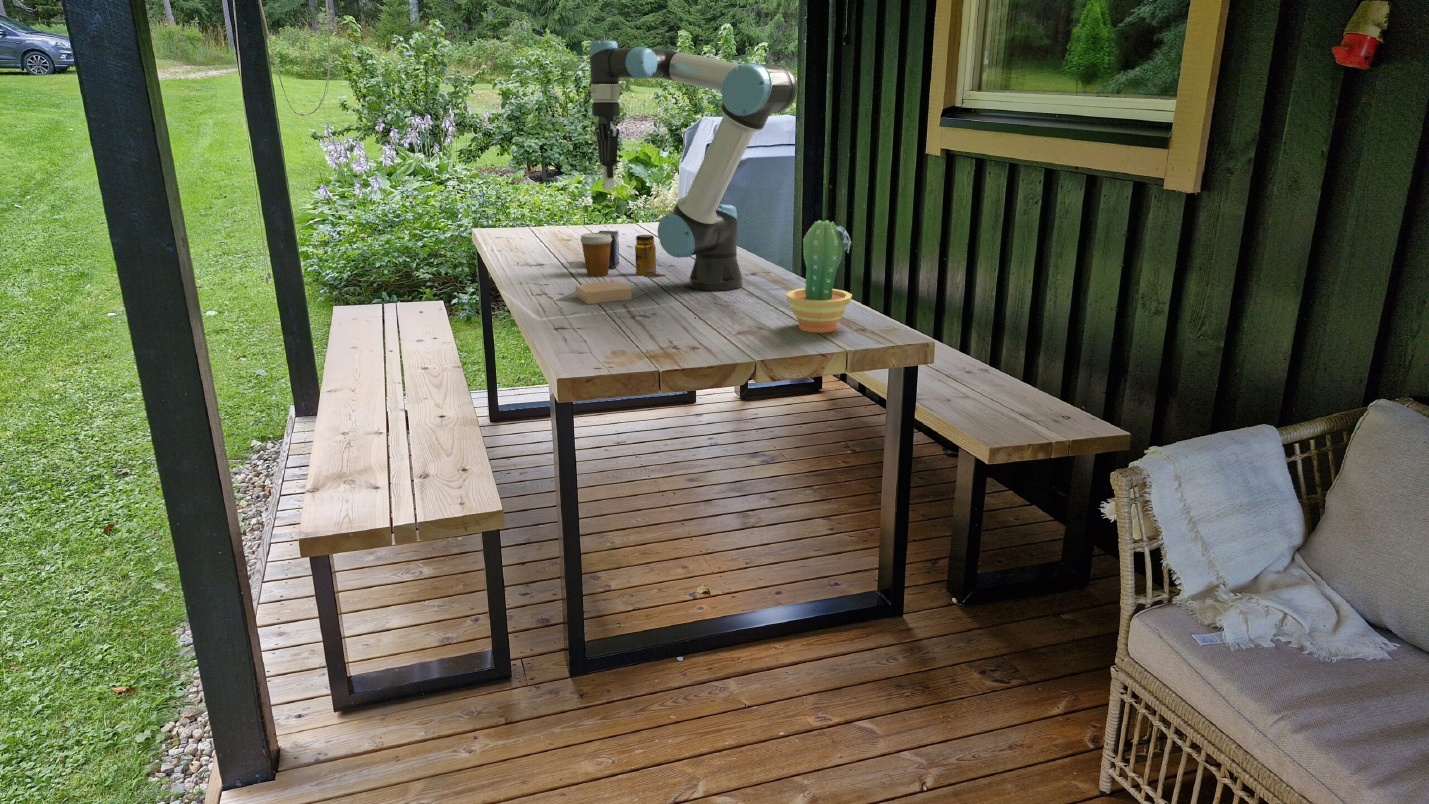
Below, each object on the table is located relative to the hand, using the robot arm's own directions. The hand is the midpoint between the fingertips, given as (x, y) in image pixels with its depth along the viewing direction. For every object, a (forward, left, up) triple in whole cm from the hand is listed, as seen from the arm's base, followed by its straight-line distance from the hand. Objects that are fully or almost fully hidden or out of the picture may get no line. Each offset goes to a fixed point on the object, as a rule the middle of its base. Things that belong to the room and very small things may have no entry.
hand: (609, 189), depth 259 cm
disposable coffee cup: (+9, -9, -27) cm, 29 cm away
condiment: (-6, -13, -27) cm, 30 cm away
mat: (-6, +21, -26) cm, 34 cm away
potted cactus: (-68, +33, -27) cm, 80 cm away
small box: (+12, -23, -27) cm, 37 cm away
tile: (-4, +19, -24) cm, 31 cm away
